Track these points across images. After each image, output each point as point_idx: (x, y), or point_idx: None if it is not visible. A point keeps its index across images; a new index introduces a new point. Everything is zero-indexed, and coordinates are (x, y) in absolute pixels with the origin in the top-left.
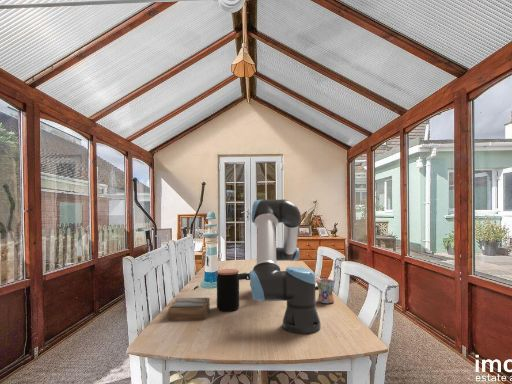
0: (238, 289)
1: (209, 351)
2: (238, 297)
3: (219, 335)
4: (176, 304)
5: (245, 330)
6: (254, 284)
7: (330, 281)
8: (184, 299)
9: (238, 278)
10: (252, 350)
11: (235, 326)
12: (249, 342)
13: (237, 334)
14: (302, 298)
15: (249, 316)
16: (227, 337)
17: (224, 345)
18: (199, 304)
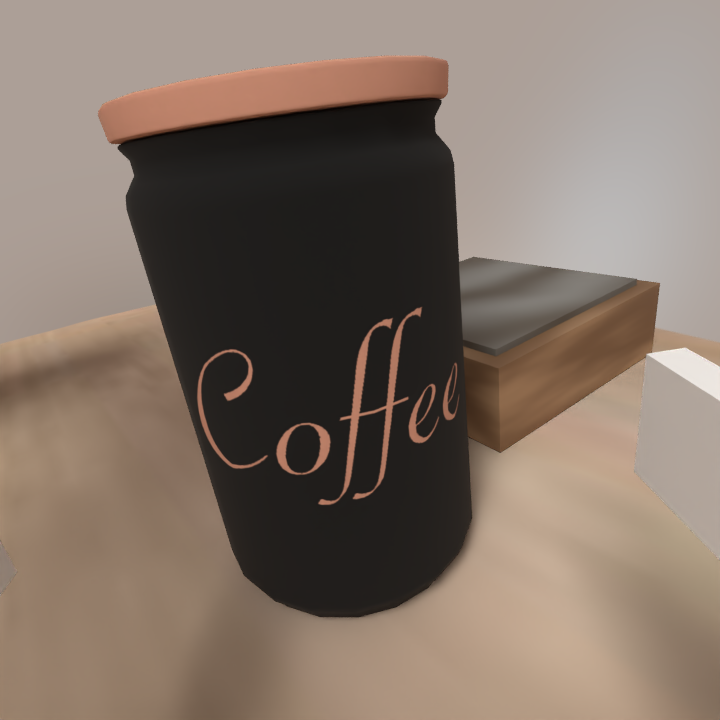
0: (179, 377)
1: (152, 313)
2: (205, 461)
3: (168, 347)
4: (494, 266)
5: (65, 400)
6: None
7: None
8: (569, 288)
9: (133, 231)
10: (15, 353)
11: (130, 399)
12: (31, 367)
13: (95, 373)
14: None
15: (74, 510)
16: (130, 352)
17: (120, 334)
18: None
